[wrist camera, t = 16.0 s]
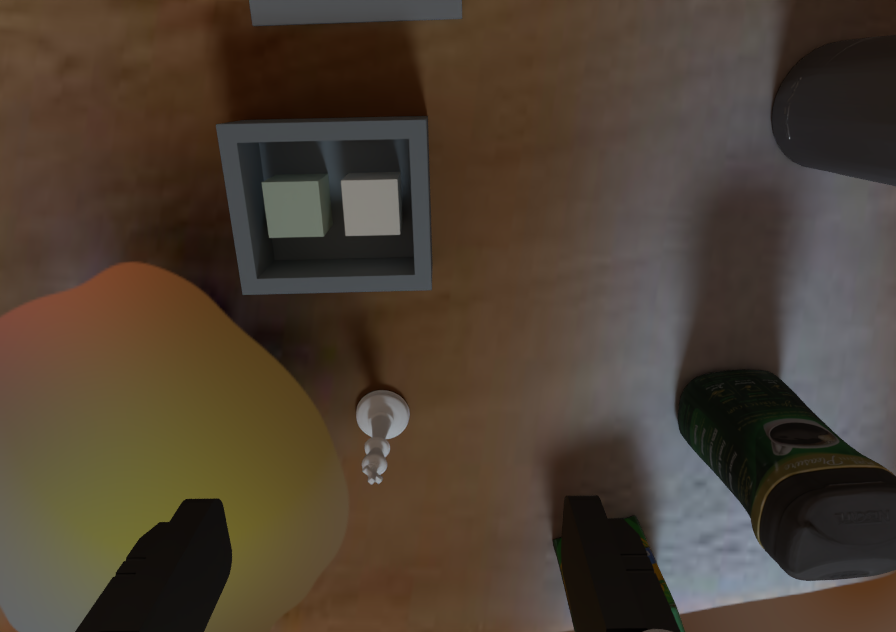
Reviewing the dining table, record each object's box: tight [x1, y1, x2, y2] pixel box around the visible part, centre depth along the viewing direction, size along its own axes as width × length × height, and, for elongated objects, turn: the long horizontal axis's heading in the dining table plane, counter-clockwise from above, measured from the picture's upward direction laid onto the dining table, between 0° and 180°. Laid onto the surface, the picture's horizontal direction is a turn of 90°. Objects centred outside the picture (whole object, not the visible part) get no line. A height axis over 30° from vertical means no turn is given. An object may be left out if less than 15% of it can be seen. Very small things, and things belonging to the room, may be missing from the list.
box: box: [216, 116, 432, 295], centre depth 44 cm, size 14×12×6 cm
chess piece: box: [356, 390, 410, 484], centre depth 49 cm, size 5×5×10 cm
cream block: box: [341, 172, 403, 236], centre depth 44 cm, size 4×4×4 cm
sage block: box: [261, 173, 333, 238], centre depth 44 cm, size 4×4×4 cm
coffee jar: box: [678, 370, 896, 581], centre depth 45 cm, size 10×8×19 cm
